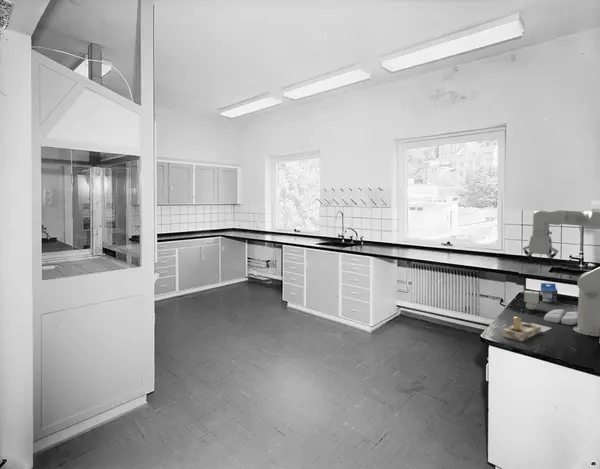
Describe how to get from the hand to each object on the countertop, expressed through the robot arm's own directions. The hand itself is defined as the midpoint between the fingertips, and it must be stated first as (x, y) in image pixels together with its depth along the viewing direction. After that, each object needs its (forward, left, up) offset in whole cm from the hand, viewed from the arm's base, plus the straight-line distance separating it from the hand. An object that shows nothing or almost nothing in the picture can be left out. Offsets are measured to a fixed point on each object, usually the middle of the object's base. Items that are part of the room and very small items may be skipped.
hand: (539, 264), depth 198 cm
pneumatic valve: (+15, -27, -34) cm, 46 cm away
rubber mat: (-4, +9, -33) cm, 35 cm away
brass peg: (-4, +31, -33) cm, 46 cm away
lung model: (-6, -20, -34) cm, 40 cm away
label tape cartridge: (+16, -54, -34) cm, 66 cm away
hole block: (-4, +26, -33) cm, 42 cm away
